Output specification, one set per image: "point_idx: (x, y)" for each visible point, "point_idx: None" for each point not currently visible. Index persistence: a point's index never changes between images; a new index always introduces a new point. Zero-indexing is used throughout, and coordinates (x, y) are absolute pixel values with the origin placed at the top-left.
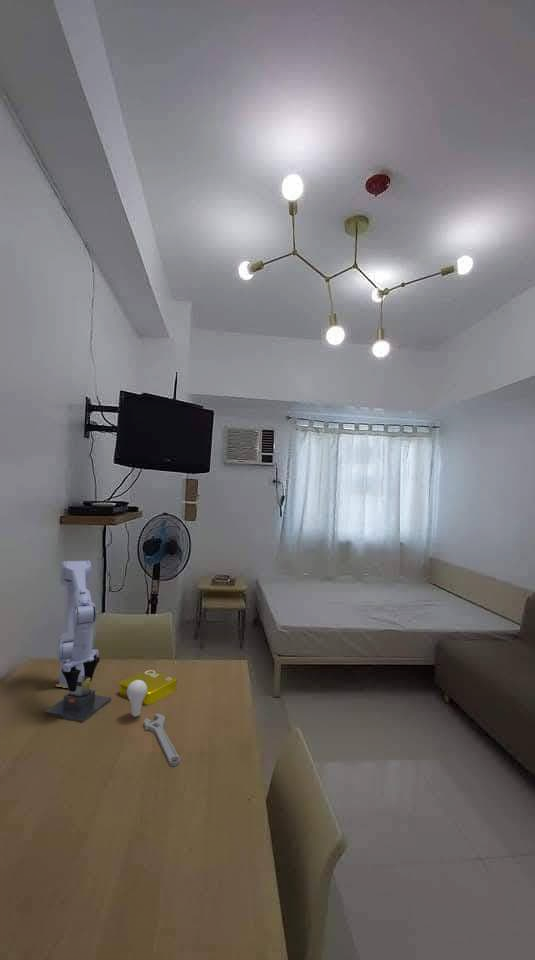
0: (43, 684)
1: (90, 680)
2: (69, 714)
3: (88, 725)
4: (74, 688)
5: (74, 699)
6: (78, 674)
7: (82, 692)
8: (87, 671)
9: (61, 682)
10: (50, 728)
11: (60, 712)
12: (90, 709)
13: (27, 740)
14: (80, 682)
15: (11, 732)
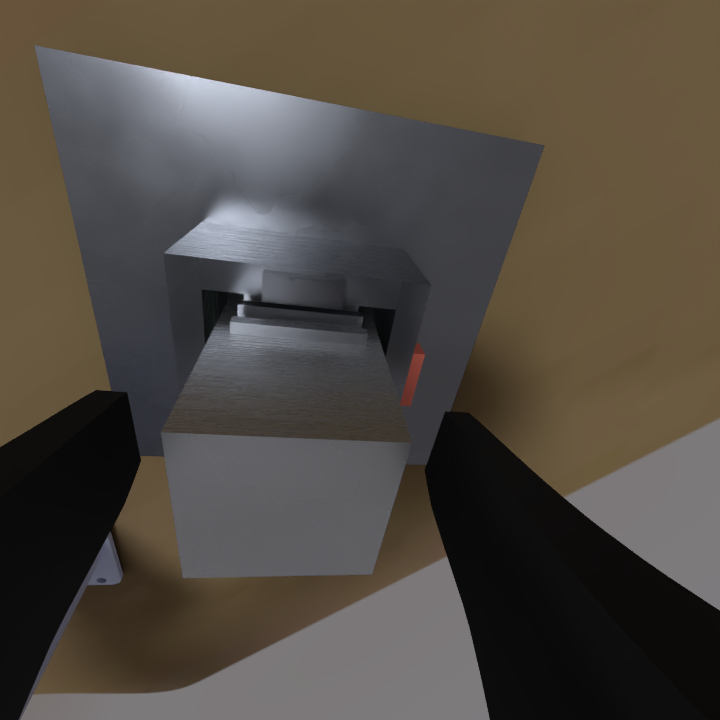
0: (125, 613)
1: (116, 399)
2: (463, 309)
3: (586, 51)
4: (495, 440)
5: (407, 362)
6: (695, 670)
7: (362, 341)
8: (42, 578)
9: (89, 578)
10: (584, 336)
11: (438, 381)
12: (364, 172)
13: (689, 375)
14: (404, 459)
15: (591, 475)
